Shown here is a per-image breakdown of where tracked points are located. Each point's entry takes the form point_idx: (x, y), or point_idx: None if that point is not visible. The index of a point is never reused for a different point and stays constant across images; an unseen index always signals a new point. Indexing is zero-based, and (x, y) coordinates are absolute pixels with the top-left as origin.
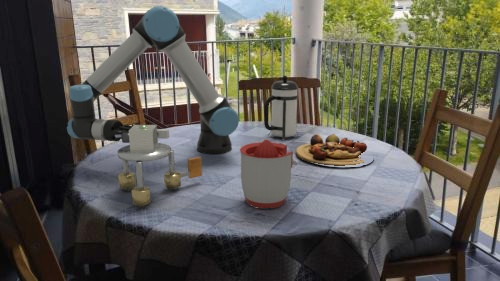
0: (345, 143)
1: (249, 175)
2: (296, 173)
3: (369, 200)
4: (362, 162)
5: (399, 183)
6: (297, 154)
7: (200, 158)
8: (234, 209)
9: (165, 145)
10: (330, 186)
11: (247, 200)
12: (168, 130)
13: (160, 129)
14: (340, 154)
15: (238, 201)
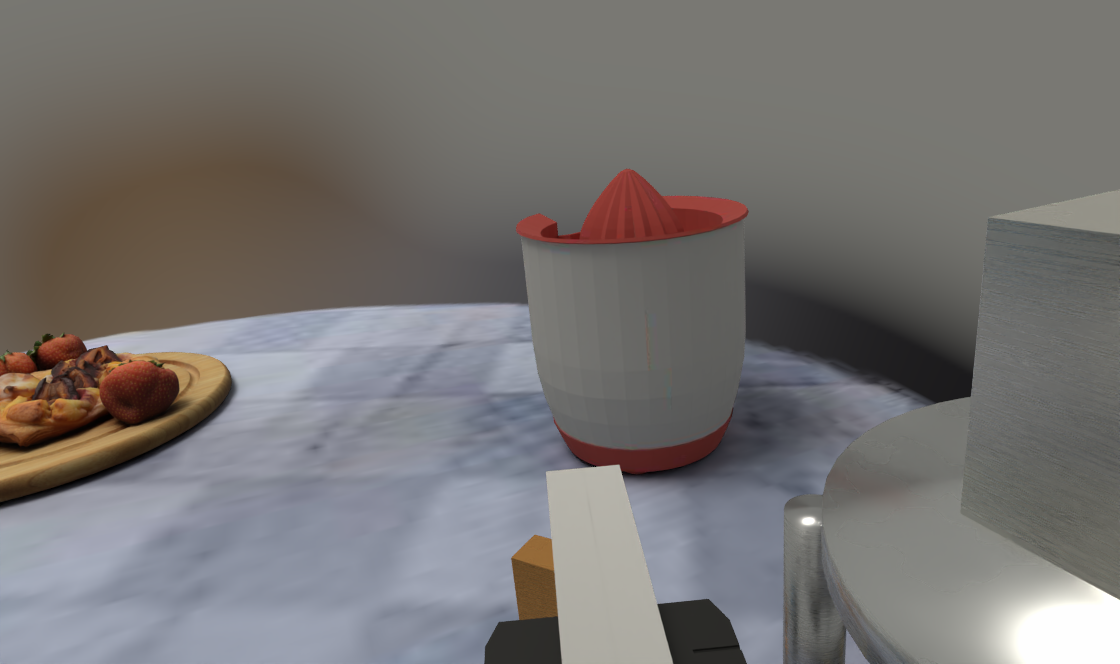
0: (15, 368)
1: (743, 303)
2: (289, 452)
3: (502, 328)
4: (203, 355)
5: (361, 320)
6: (32, 479)
7: (543, 540)
8: (781, 474)
9: (861, 482)
10: (420, 378)
11: (719, 435)
12: (554, 479)
13: (571, 562)
14: (160, 363)
15: (699, 489)
